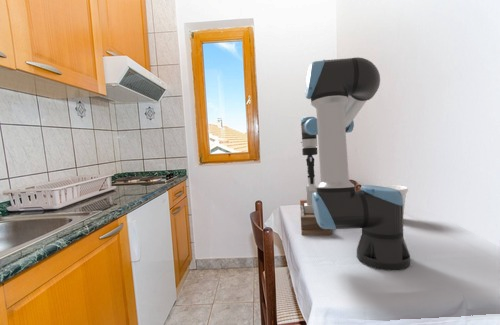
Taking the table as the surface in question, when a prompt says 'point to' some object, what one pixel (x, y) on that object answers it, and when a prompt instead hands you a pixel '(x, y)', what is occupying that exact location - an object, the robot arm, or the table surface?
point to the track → (310, 223)
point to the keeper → (309, 201)
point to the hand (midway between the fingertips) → (311, 188)
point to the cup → (401, 189)
